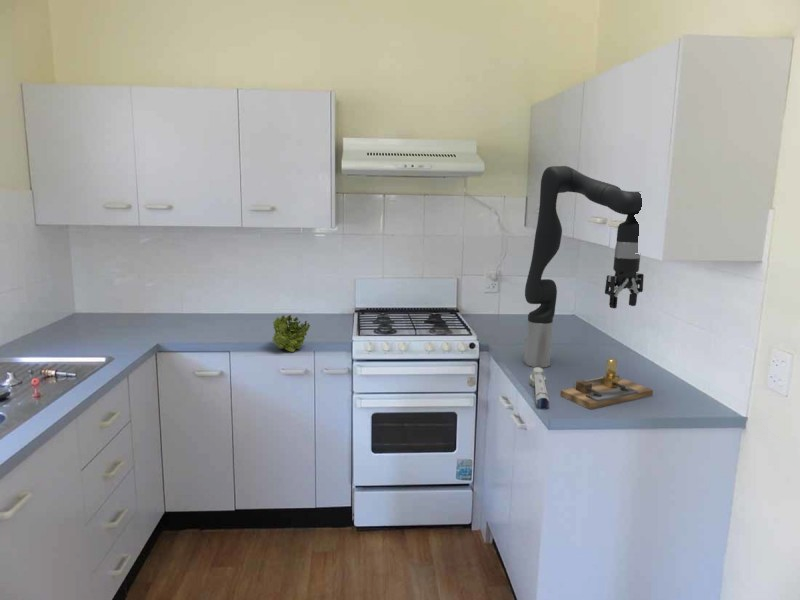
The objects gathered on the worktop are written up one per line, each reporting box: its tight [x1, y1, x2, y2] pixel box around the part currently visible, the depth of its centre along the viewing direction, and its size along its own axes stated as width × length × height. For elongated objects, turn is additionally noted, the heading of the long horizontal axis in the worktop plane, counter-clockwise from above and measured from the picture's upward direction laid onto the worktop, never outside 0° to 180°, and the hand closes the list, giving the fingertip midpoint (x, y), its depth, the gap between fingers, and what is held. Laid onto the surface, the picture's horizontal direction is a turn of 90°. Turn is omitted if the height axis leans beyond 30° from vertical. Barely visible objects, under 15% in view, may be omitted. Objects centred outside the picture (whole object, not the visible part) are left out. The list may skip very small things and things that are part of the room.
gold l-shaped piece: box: [602, 357, 626, 389], centre depth 188 cm, size 8×3×9 cm, turn 27°
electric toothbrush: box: [529, 367, 550, 409], centre depth 187 cm, size 5×7×25 cm
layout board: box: [560, 373, 654, 410], centre depth 186 cm, size 13×28×4 cm, turn 117°
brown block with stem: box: [575, 379, 599, 394], centre depth 183 cm, size 8×3×3 cm, turn 27°
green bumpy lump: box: [272, 314, 311, 353], centre depth 235 cm, size 18×16×16 cm
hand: (622, 306), depth 181 cm, fingers open, 8 cm apart
